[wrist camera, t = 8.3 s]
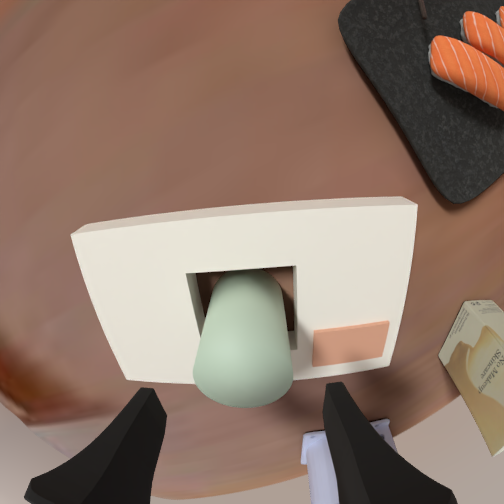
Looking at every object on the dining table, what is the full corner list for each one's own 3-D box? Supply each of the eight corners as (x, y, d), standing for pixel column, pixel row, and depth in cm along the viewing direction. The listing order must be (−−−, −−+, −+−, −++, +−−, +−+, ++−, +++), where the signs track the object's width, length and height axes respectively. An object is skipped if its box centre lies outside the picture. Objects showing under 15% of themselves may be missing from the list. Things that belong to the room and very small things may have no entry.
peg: (282, 265, 17) (295, 340, 11) (282, 324, 19) (291, 406, 13) (208, 267, 18) (183, 342, 11) (216, 326, 19) (201, 406, 13)
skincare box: (462, 299, 18) (546, 400, 7) (491, 298, 19) (569, 384, 7) (434, 358, 21) (490, 461, 10) (465, 353, 21) (521, 442, 10)
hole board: (401, 196, 16) (420, 206, 13) (380, 349, 20) (390, 368, 18) (86, 224, 17) (67, 236, 14) (134, 362, 21) (125, 382, 19)
